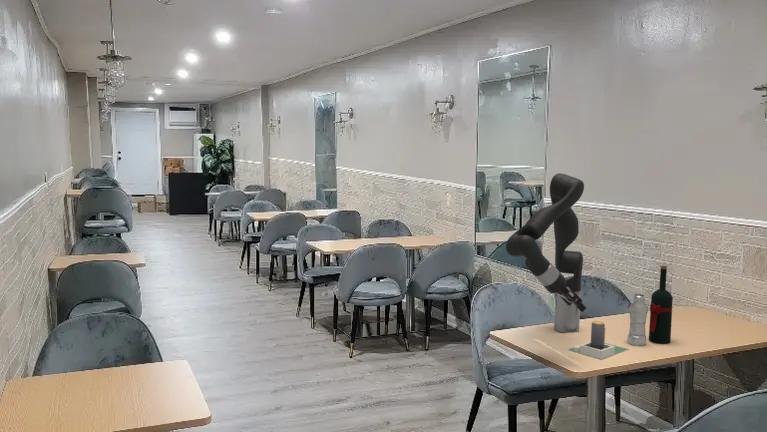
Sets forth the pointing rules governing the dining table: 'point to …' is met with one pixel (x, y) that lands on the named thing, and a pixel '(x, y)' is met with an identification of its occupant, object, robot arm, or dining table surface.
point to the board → (597, 350)
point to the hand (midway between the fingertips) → (577, 306)
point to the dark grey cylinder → (597, 335)
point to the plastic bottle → (637, 321)
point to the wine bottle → (661, 312)
